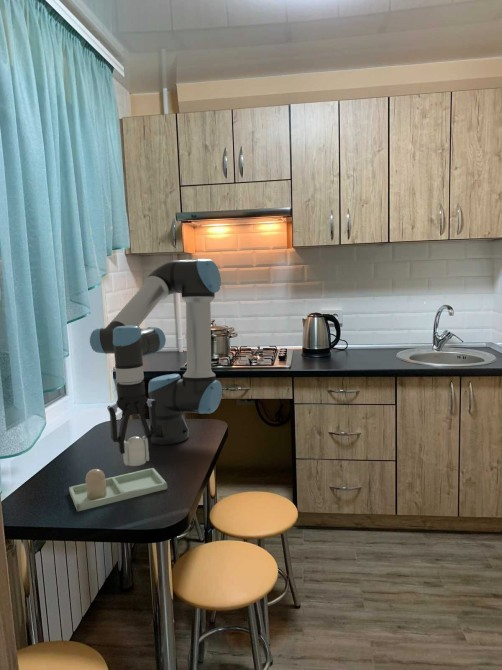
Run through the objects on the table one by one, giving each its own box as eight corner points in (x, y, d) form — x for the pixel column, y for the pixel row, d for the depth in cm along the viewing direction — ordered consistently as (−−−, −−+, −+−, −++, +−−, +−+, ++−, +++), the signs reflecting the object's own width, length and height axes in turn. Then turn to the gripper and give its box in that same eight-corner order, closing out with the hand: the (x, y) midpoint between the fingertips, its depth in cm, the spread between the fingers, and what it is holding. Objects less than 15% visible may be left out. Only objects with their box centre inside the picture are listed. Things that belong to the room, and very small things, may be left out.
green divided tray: (153, 475, 156) (153, 467, 156) (167, 491, 145) (167, 483, 144) (69, 495, 145) (69, 487, 145) (77, 514, 134) (76, 505, 133)
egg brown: (104, 490, 146) (102, 464, 145) (108, 497, 141) (106, 470, 140) (85, 494, 143) (83, 468, 142) (89, 501, 139) (86, 475, 138)
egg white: (143, 457, 150) (141, 432, 149) (148, 463, 145) (146, 437, 144) (125, 461, 147) (123, 435, 146) (129, 467, 143) (127, 441, 142)
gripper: (157, 374, 150) (163, 451, 154) (94, 383, 142) (101, 464, 145) (166, 379, 144) (171, 458, 147) (99, 388, 136) (107, 473, 139)
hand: (136, 461), depth 146 cm, fingers closed on egg white, 5 cm apart
